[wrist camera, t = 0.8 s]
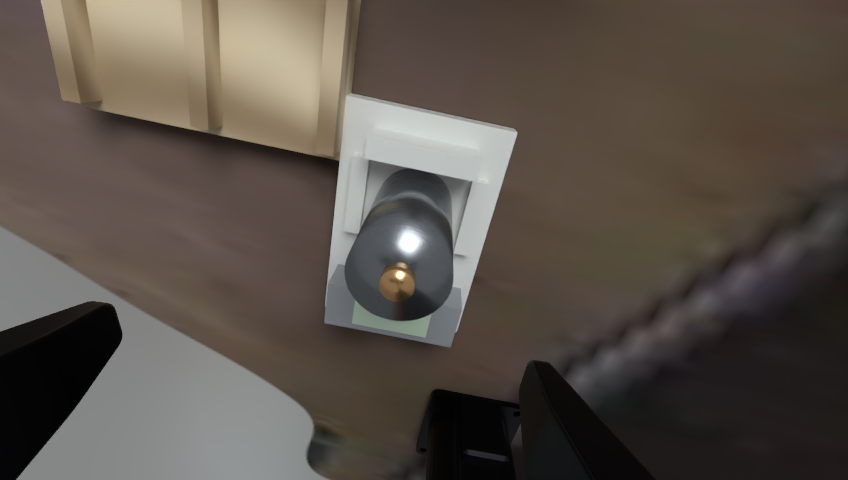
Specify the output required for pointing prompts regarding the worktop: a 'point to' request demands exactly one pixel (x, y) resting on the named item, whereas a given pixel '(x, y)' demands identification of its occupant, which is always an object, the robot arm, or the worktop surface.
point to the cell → (404, 248)
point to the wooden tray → (213, 65)
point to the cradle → (427, 151)
